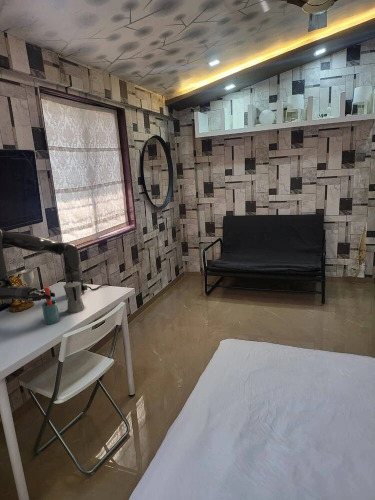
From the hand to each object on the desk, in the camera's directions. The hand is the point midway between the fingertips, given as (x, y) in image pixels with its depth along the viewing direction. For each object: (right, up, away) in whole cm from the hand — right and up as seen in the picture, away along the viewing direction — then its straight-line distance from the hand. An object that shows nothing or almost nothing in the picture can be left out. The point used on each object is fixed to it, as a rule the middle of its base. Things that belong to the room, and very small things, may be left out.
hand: (52, 295), depth 168 cm
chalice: (-29, -7, +40) cm, 50 cm away
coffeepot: (+7, -11, +16) cm, 21 cm away
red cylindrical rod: (-2, -9, +3) cm, 10 cm away
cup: (-2, -14, +4) cm, 15 cm away
